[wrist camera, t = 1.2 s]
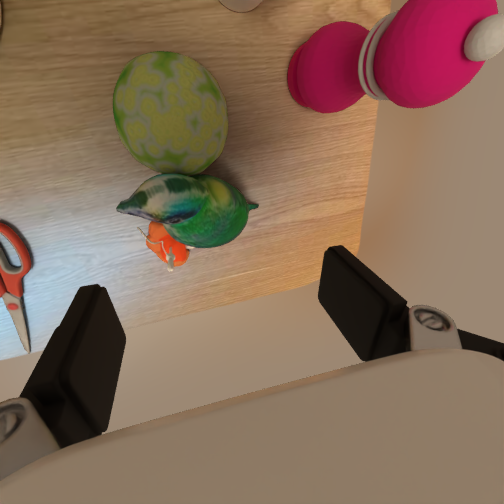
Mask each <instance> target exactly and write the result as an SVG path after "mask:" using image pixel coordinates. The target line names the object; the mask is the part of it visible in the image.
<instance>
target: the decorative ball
mask: <svg viewBox="0 0 504 504" xmlns="http://www.w3.org/2000/svg"><path fill="white" fill-rule="evenodd" d="M113 113H114V118H115V123H116V127H117V131H118V134H119V137H120V140H121V141H122V143H123V145H124V146H125V148H126V149H127V150H128V151H129V152H130V153H131V155H132V156H133V157H134V158H135V159H136V160H137V161H138V162H140V163H142V164H144V165H145V166H147V167H149V168H150V169H152V170H155V171H157V172H160V173H163V174H181V175H186V176H188V175H196V174H199V173H201V172H202V171H204V170H205V169H206V168H207V167H208V166H209V165H210V164H211V163H213V162H214V161H215V160H216V159H217V158H218V157H219V156H220V155H221V153H222V151H223V148H224V145H225V141H226V138H227V133H228V113H227V105H226V99H225V97H224V95H223V93H222V92H221V89H220V87H219V85H218V82H217V81H216V79H215V78H214V77H213V76H212V74H211V73H210V72H209V71H208V70H207V69H206V68H204V67H203V66H202V65H201V64H199V63H198V62H196V61H195V60H193V59H192V58H190V57H187V56H184V55H181V54H178V53H173V52H164V51H157V52H150V53H146V54H143V55H140V56H138V57H135V58H134V59H133V60H131V61H129V62H128V63H127V64H126V65H125V67H124V68H123V70H122V72H121V74H120V76H119V79H118V81H117V83H116V86H115V89H114V94H113Z"/></svg>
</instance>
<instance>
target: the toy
mask: <svg viewBox="0 0 504 504" xmlns="http://www.w3.org/2000/svg"><path fill="white" fill-rule="evenodd" d="M258 206H259V205H258V204H247V202H246V199H245V197H244V196H243V195H242V194H241V193H240V192H239V191H238V190H237V189H236V188H235V187H234V186H232V185H230V184H229V183H227V182H225V181H223V180H221V179H219V178H217V177H214V176H210V175H203V174H197V175H191V176H186V175H181V174H161V175H156V176H154V177H152V178H150V179H148V180H146V181H145V182H144V183H143V184H141V185H140V187H139V188H138V189H137V190H136V191H135V192H134V193H133V194H132V196H131V197H130V198H129V199H127V200H124V201H121V202H120V204H119V205H118V206H117V208H116V209H117V211H118V212H120V213H124V214H130V215H134V216H139V217H142V218H145V219H148V220H151V221H154V222H158V223H162V224H163V226H164V228H165V230H166V231H167V232H168V233H169V235H170V236H171V237H172V238H174V239H175V240H176V241H178V242H180V243H182V244H184V245H187V246H191V247H196V248H211V247H218V246H221V245H224V244H226V243H229V242H231V241H232V240H234V239H235V238H236V237H237V236H238V235H239V234H240V233H241V232H242V230H243V229H244V227H245V225H246V223H247V220H248V213H249V211H250V210H252V209H256V208H258Z"/></svg>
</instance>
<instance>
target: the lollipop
mask: <svg viewBox="0 0 504 504" xmlns="http://www.w3.org/2000/svg"><path fill="white" fill-rule="evenodd" d="M137 228H138V227H137ZM138 229H139V231H140V232H141V233H142V234H143V236H144V237H145V238H146V245H147V246H148V248H149V249H151V250H152V251H153V252H155V253H156V254H157V256H158V257H159V258H160V259H161V260H162V261H164V262H165V263H167V264H168V270H169V271H170V272H172V271H173V270H174V267H175V266H181V265H183V264H184V263H185V262H186V261H187V259H188V257H189V251H188V250H187V249H192V248H194V247H191V246H187V245H184V244H182V243H180V242H178V241H176V240H175V239H174V238H172V237H171V236H170V235H169V233H168V232H167V231H166V230H165V228H164V226H163V224H162V223H158V222H154V221H151V223H150V224H149V234H150V235H148V236H146V235H145V234H144V233H143V232H142V231H141V229H140V228H138Z"/></svg>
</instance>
